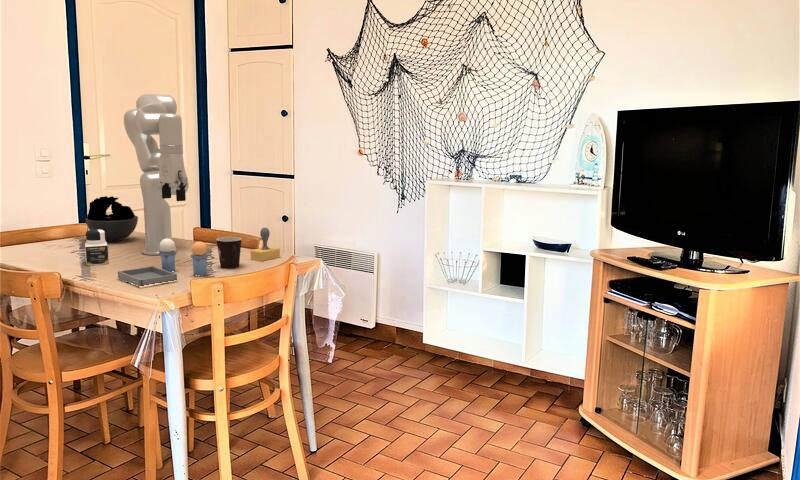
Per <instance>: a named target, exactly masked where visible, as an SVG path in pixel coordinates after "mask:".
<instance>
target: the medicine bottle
mask: <svg viewBox="0 0 800 480" xmlns="http://www.w3.org/2000/svg"><path fill="white" fill-rule="evenodd" d="M85 239H86V242H85V243H84V250H85V251H84V252H85V253H84V254H85V262H86V264H85V265H86V266H87V265H90V266H100V265H109V264H110V262H109V248H108V247H109V244H108V243H107V242H108V241H105V232H104V231H103V230H100V229H95V230H89V229H88V230H87V231H85Z"/></svg>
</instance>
